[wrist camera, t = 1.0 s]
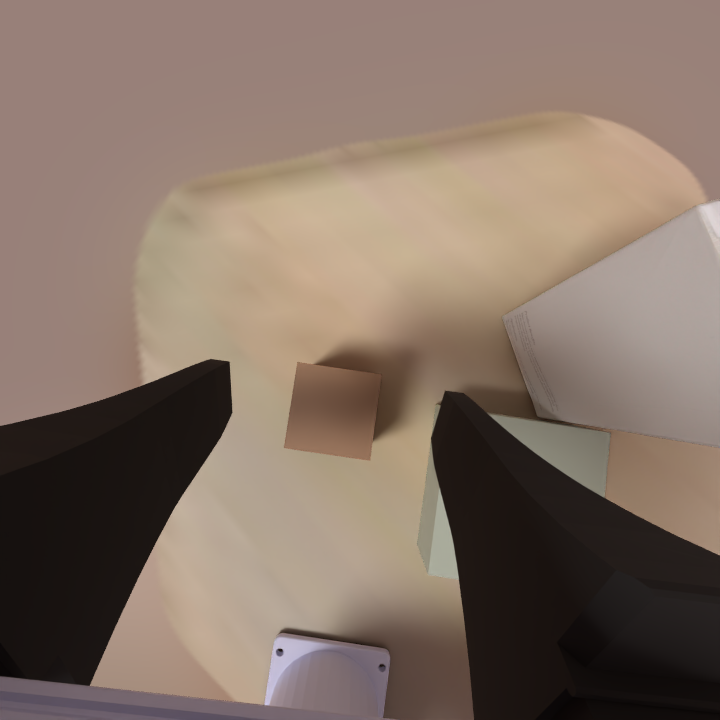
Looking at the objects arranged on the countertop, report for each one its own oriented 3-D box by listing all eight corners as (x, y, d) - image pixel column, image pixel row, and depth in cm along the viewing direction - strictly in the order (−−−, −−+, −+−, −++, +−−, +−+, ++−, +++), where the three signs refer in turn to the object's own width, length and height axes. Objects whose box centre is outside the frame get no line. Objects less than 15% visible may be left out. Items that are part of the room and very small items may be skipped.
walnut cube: (367, 443, 23) (369, 460, 18) (300, 433, 23) (284, 448, 18) (377, 375, 24) (381, 374, 19) (310, 366, 24) (297, 362, 19)
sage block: (553, 563, 23) (594, 601, 19) (416, 541, 23) (428, 574, 19) (568, 424, 24) (610, 432, 20) (434, 403, 24) (449, 408, 20)
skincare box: (608, 395, 23) (1037, 417, 9) (530, 419, 23) (830, 484, 8) (569, 288, 24) (910, 135, 9) (493, 311, 24) (713, 194, 9)
